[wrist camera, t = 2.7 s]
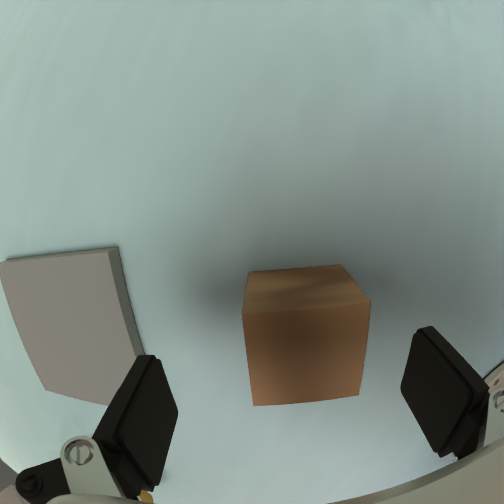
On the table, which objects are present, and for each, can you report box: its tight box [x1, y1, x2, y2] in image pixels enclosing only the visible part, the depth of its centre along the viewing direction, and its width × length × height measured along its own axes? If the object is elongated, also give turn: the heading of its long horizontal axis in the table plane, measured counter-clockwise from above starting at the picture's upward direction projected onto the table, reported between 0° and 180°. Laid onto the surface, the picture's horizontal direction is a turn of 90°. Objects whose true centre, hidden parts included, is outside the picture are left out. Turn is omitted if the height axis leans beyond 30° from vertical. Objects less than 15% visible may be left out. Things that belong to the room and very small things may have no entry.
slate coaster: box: [0, 247, 145, 406], centre depth 16 cm, size 12×12×1 cm
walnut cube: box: [242, 265, 371, 406], centre depth 13 cm, size 5×5×5 cm
